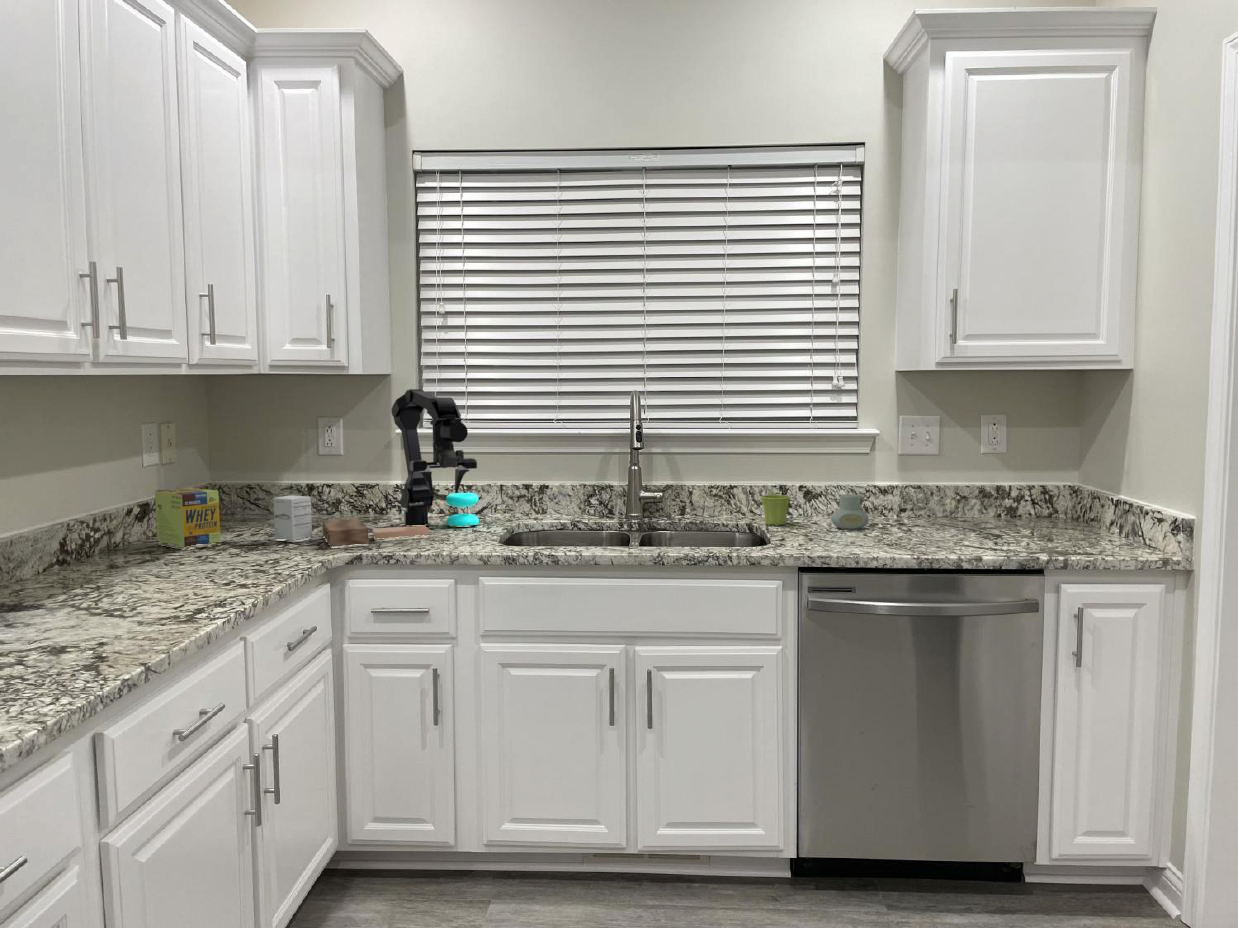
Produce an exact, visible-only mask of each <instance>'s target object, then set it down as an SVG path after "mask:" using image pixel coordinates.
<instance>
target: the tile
mask: <svg viewBox="0 0 1238 928" xmlns="http://www.w3.org/2000/svg"><path fill="white" fill-rule="evenodd" d="M427 534H429V535H430V529H429V527H426V526H410V527H407V526H397V527H382V528H379V527H378V528H377V527H376V528H372V536H373V535H374V537H375V539H377V538H389V537H399V536H412V535H427Z"/></svg>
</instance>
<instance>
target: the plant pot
mask: <svg viewBox="0 0 1238 928" xmlns="http://www.w3.org/2000/svg"><path fill="white" fill-rule="evenodd" d="M759 498H760V499H761V504H762V507H763V512H764V513H763V514H764V515H763V516H764V522H765V525H768V526H771V525H773V526H784V525H786V523H787V514H788V510H789V509H788V508H789V503H790V499H792V496H791V495H783V494H763V495H760V496H759Z"/></svg>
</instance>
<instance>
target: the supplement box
mask: <svg viewBox="0 0 1238 928" xmlns="http://www.w3.org/2000/svg"><path fill="white" fill-rule="evenodd" d="M311 500H312V497H311V496H306V495H305V496H304V495H284V496H277V497H273V515H274V516H273V518H274V519H273V521H274V522H273V523H274V540H275V539H288V540H296V539H304V538H308V537H312V538H313V529H312V528H313V525H312V501H311Z"/></svg>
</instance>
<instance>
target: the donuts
mask: <svg viewBox="0 0 1238 928" xmlns="http://www.w3.org/2000/svg"><path fill="white" fill-rule="evenodd" d="M478 501H479V496H478V494H476V493H472V492H458V493H455V492H454V493H451V494H448V495H447V496H446V498H445V502H446V503H447V505H449V506H452V507H455V508H465V507H467V508H468V507H473V506H474V505H476V504H478ZM479 523H480V519H479V517H478V516H477V515H475V514H472V513H457V514H456V513H455V514H453V515H450V516H449V517H448V518H447V519H446V525H447V526H448V525H456V526H466V525H477V524H478V525H479ZM478 525H477V526H478Z"/></svg>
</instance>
